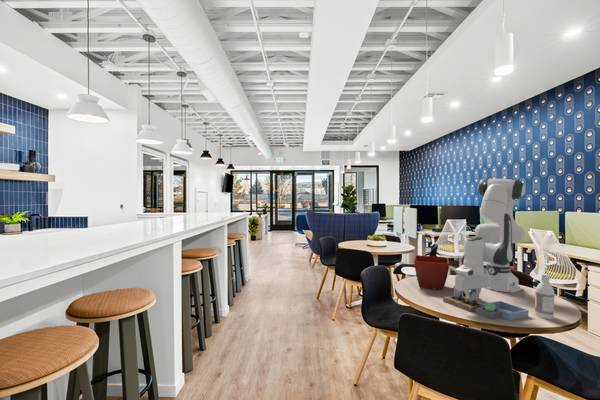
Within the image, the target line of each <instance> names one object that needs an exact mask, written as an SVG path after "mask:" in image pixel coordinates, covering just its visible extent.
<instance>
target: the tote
mask: <svg viewBox="0 0 600 400" xmlns="http://www.w3.org/2000/svg"><path fill="white" fill-rule="evenodd" d="M490 303H492V304H494V305H495V311H500V312H502V317H501V318H502V319H504V320H508V321H513V320H518V319H523V318H527V317H529V309H527V308H524V307H520V306H517V305H515V304H511V303H508V302H505V301H502V300H497V301H493V302H490ZM484 306H485V303H484V304H482V307H484Z"/></svg>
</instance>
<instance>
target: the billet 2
mask: <svg viewBox="0 0 600 400" xmlns="http://www.w3.org/2000/svg"><path fill="white" fill-rule="evenodd" d="M469 294H470V295H471V298H470V299H467V304H468V305H471V306H477V302H478V300H479V299H478V298H479V297H478V291H476V290H470V292H469Z"/></svg>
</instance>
